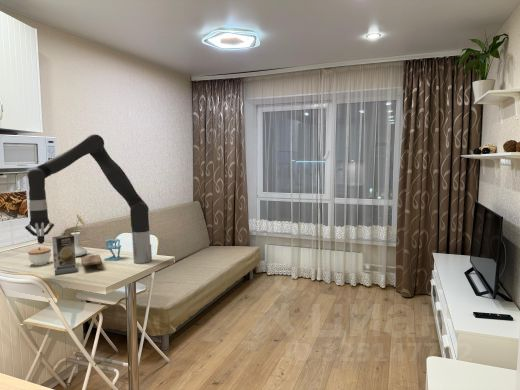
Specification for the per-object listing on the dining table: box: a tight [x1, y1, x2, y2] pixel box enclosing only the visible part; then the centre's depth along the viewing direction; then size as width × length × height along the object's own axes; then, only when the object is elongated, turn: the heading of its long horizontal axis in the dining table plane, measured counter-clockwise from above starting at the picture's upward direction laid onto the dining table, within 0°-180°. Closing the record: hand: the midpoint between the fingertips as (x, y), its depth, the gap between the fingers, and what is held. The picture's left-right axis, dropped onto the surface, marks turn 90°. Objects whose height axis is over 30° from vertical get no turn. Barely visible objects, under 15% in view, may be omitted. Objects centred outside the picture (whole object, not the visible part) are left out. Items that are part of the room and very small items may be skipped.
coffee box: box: [51, 234, 77, 268], centre depth 198 cm, size 9×6×16 cm
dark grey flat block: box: [54, 263, 78, 276], centre depth 187 cm, size 10×8×2 cm
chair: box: [103, 238, 122, 262], centre depth 210 cm, size 8×8×12 cm
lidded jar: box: [27, 247, 52, 266], centre depth 202 cm, size 11×11×9 cm
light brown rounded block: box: [80, 254, 103, 271], centre depth 193 cm, size 9×16×5 cm, turn 28°
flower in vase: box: [70, 213, 88, 257], centre depth 219 cm, size 13×11×25 cm
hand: (41, 243), depth 181 cm, fingers closed
